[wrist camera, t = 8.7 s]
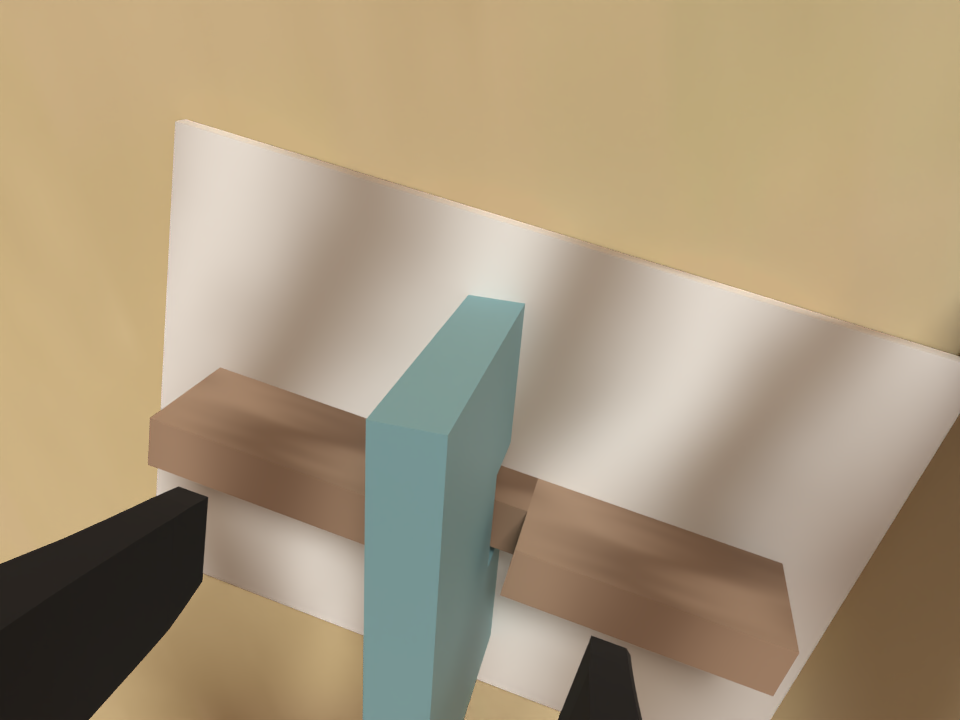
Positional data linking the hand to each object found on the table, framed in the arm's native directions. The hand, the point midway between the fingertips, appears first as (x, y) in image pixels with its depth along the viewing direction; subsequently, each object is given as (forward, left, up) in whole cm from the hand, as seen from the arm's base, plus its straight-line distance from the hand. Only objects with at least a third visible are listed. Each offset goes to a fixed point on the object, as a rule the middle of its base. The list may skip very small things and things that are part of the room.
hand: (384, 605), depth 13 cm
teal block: (0, +4, -9) cm, 10 cm away
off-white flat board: (0, +3, -10) cm, 10 cm away
